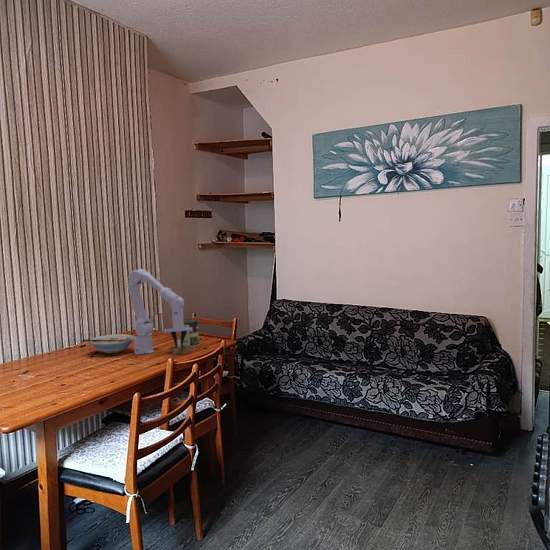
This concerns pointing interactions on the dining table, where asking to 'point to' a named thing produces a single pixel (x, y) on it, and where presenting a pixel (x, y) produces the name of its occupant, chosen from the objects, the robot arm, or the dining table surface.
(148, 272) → the robot arm
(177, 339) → the white banded cylinder
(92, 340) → the ramen bowl
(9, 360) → the dining table surface
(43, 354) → the dining table surface
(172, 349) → the square wooden frame
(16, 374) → the dining table surface
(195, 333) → the coffee can
